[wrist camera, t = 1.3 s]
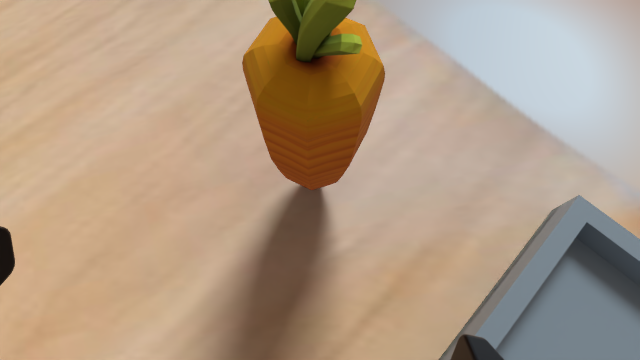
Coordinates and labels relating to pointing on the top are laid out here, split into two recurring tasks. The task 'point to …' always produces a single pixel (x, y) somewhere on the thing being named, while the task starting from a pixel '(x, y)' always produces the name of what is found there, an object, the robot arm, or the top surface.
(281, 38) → the carrot
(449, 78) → the top surface
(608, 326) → the tray
